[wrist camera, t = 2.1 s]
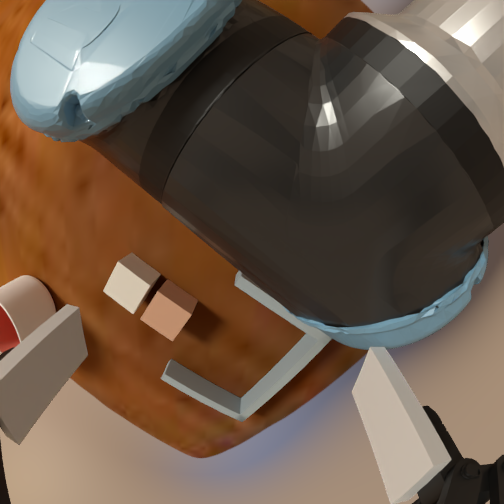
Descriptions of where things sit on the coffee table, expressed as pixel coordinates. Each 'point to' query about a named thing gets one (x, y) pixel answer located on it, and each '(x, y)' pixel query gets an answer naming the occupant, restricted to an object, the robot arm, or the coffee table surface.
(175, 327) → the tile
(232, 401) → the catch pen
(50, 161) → the coffee table surface
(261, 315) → the coffee table surface
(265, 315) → the coffee table surface
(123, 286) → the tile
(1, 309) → the cup
